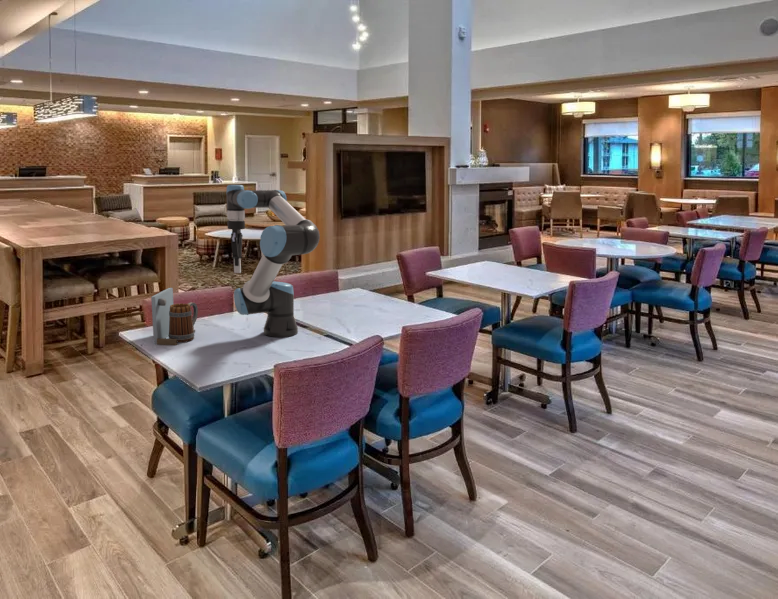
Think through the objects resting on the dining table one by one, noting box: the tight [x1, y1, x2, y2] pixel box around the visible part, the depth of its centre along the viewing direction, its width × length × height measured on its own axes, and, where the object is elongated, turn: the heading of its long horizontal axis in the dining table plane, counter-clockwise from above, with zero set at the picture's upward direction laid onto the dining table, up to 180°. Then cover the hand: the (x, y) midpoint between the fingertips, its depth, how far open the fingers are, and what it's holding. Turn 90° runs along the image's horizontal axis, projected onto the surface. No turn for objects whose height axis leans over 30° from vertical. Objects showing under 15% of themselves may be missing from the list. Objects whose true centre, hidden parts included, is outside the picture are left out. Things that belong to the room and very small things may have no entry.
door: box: [150, 287, 174, 345], centre depth 269 cm, size 4×20×20 cm, turn 179°
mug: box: [168, 302, 199, 344], centre depth 270 cm, size 16×11×15 cm
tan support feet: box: [156, 325, 195, 346], centre depth 271 cm, size 8×22×2 cm, turn 179°
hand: (237, 272), depth 283 cm, fingers closed
